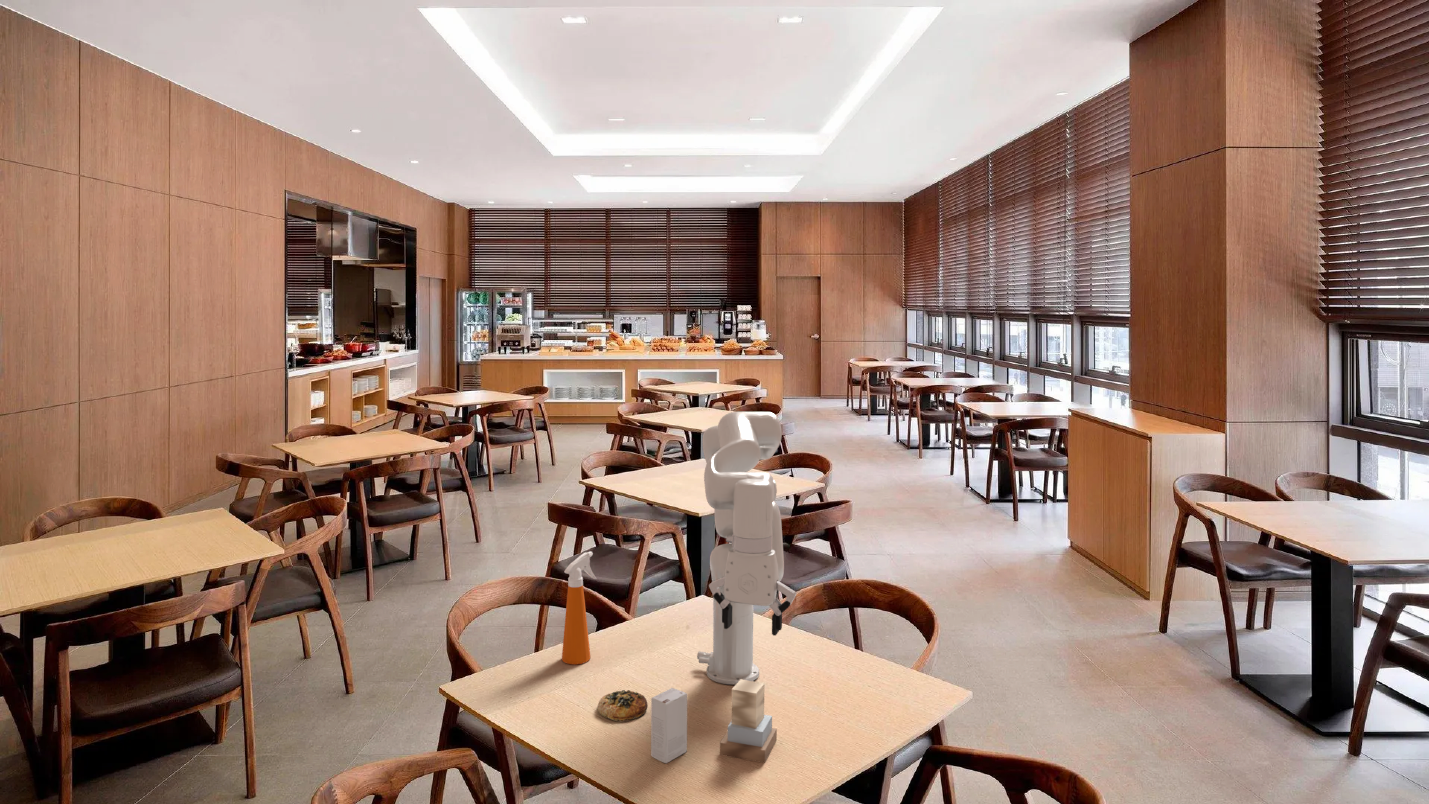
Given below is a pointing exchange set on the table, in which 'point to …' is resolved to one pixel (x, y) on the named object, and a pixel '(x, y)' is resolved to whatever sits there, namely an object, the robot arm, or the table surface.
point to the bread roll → (622, 705)
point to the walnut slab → (748, 748)
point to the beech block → (748, 703)
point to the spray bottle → (576, 613)
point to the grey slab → (751, 733)
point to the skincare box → (668, 725)
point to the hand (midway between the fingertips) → (751, 629)
